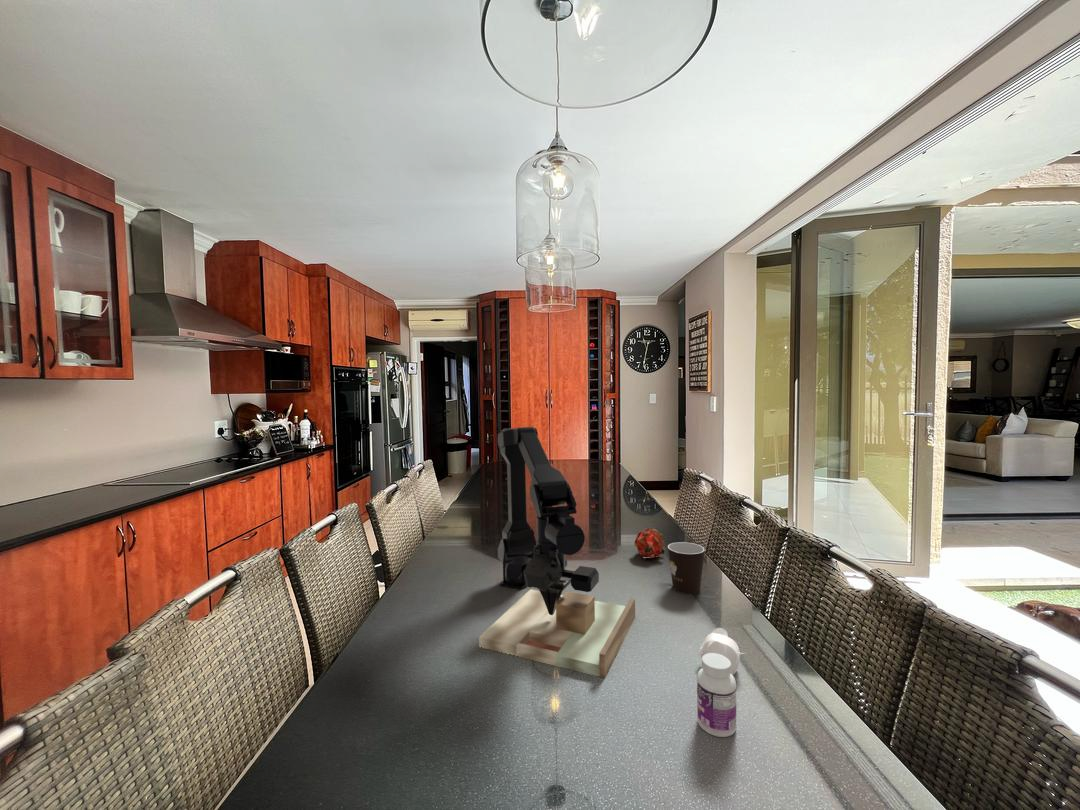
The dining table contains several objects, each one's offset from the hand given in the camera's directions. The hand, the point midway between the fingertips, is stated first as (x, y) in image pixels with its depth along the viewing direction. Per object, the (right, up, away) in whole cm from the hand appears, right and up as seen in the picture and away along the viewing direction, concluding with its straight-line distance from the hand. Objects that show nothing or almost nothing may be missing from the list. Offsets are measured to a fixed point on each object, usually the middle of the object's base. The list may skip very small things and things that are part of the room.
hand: (551, 614), depth 95 cm
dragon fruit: (+30, -2, +41) cm, 50 cm away
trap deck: (+2, -3, 0) cm, 4 cm away
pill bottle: (+23, -4, -28) cm, 36 cm away
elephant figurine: (+29, -3, -14) cm, 33 cm away
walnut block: (+5, -1, -2) cm, 5 cm away
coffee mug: (+34, -2, +20) cm, 39 cm away
